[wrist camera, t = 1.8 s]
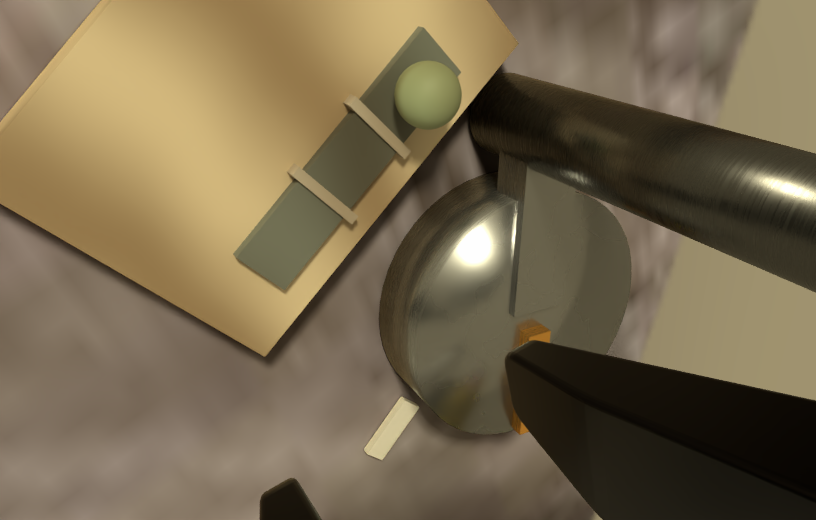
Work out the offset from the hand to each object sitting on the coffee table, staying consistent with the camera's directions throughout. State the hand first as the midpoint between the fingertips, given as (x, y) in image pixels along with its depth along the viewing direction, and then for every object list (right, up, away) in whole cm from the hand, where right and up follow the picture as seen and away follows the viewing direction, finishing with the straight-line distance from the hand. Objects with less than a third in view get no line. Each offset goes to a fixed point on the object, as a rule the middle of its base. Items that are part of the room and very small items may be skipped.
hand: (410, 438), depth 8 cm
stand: (-4, +7, +11) cm, 13 cm away
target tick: (-1, -4, +18) cm, 18 cm away
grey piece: (+3, +3, +17) cm, 17 cm away
